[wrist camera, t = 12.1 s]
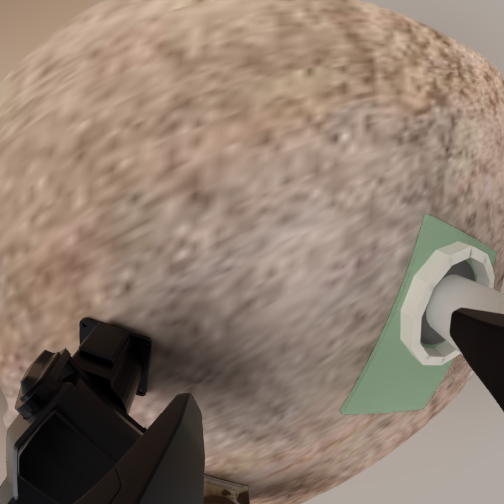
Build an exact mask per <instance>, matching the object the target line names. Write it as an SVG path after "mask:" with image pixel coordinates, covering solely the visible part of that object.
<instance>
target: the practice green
mask: <svg viewBox="0 0 504 504" xmlns="http://www.w3.org/2000/svg"><path fill="white" fill-rule="evenodd" d="M496 255H497V252H496V251H494V250H493V249H491V248H489V247H488V246H486V245H484V244H483V243H481V242H479V241H477V240H476V239H474V238H472V237H470V236H469V235H467V234H465V233H463V232H461V231H460V230H458V229H456V228H454V227H452V226H450V225H448V224H446V223H445V222H443V221H441V220H439V219H437V218H435V217H433V216H431V215H428V214H425V215H424V218H423V222H422V226H421V229H420V232H419V236H418V239H417V242H416V246H415V249H414V252H413V255H412V258H411V261H410V264H409V267H408V269H407V272H406V275H405V278H404V280H403V283H402V286H401V288H400V291H399V293H398V296H397V298H396V301H395V303H394V306H393V308H392V311H391V313H390V315H389V318H388V320H387V322H386V324H385V327H384V329H383V331H382V333H381V335H380V337H379V340H378V342H377V344H376V346H375V348H374V350H373V352H372V354H371V356H370V358H369V360H368V362H367V364H366V366H365V368H364V369H363V371H362V373H361V375H360V377H359V379H358V381H357V382H356V384H355V386H354V388H353V389H352V391H351V393H350V395H349V396H348V398H347V400H346V401H345V403H344V405H343V406H342V408H341V410H340V412H341V414H375V413H390V412H402V411H411V410H420V409H424V407H425V406H426V404H427V403H428V401H429V400H430V398H431V397H432V395H433V394H434V392H435V391H436V389H437V387H438V386H439V384H440V383H441V381H442V379H443V378H444V376H445V374H446V372H447V371H448V369H449V367H450V365H451V364H452V362H453V360H454V358H455V357H456V356H458V355H459V354H461V353H460V352H459V351H457V350H456V349H455V348H454V347H453V346H452V345H451V344H450V343H449V342H447V341H446V340H445V339H444V338H443V337H442V336H441V335H440V334H438V333H437V332H436V331H435V330H434V329H433V328H432V327H430V325H429V323H428V321H427V317H426V309H427V305H428V302H429V299H430V297H431V294H432V292H433V290H434V288H435V287H436V286H437V285H438V283H439V282H440V281H441V280H442V279H444V278H445V277H447V276H448V275H456V274H457V275H459V276H462V277H464V278H467V279H469V280H472V281H474V282H477V283H479V284H482V285H484V286H487V287H489V288H492V289H494V278H495V275H494V272H493V269H492V268H493V265H494V262H495V258H496Z"/></svg>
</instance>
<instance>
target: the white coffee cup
mask: <svg viewBox="0 0 504 504" xmlns="http://www.w3.org/2000/svg"><path fill="white" fill-rule="evenodd" d="M461 307H463V308H469V309H475V310H482V311H488V312H494V313H501V314H504V293H501V292H499V291H496V290H494V289H492V288H489V287H487V286H484V285H482V284H479V283H477V282H474V281H472V280H469V279H467V278H464V277H462V276H459V275H457V274H456V275H448V276H447V277H445V278H444V279H442V280H441V281H440V282H439V283H438V285H437V286H436V287H435V288H434V290H433V292H432V294H431V297H430V299H429V302H428V305H427V309H426V317H427V321H428V323H429V325H430V327H432V328H433V329H434V330H435V331H436V332H437V333H438V334H440V335H441V336H442V337H443V338H444V339H445V340H446V341H447V342H449V343H450V344H451V345H452V346H453V347H454V348H455V349H456V350H457V351H459V352H460V350H459V349H458V347H457V346H456V344H455V343H454V341H453V340H452V338H451V336H450V333H449V330H450V322H451V314H452V312H453V311H455V310H457V309H459V308H461ZM460 353H461V352H460ZM461 354H462V353H461Z"/></svg>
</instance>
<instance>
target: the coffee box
mask: <svg viewBox="0 0 504 504" xmlns="http://www.w3.org/2000/svg"><path fill="white" fill-rule="evenodd" d="M203 504H250V502H249V493H248V487H247V486H244V485H240V484H235V483H232V482H228V481H224V480H220V479H217V478H213V477H210V476H207V475H204V495H203Z"/></svg>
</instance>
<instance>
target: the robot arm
mask: <svg viewBox="0 0 504 504" xmlns="http://www.w3.org/2000/svg"><path fill="white" fill-rule="evenodd" d="M84 322H85V323H86V324H87V325H85V324H84ZM449 333H450V336H451V338H452V340H453V341H454V343H455V344H456V346H457V347H458V349H459V350H460V352H461V353H462V355H463V356H464V358H465V359H466V361H467V362H468V364H469V365H470V367H471V368H472V370H473V371H474V372H475V373H476V375H477V376H478V377H479V378H480V380H481V381H482V382H483V384H484V385H485V386H486V388H487V389H488V390H489V392H490V393H491V394H492V396H493V397H494V399H495V400H496V401H497V403H498V404H499V406H500V407H501V408H502V410H503V411H504V314H501V313H494V312H488V311H482V310H475V309H469V308H463V307H461V308H459V309H457V310H455V311H453V312H452V314H451V322H450V330H449ZM144 342H146V343H148V345H146V344H144ZM151 349H152V341H151V339H150V338H148V337H145V336H141V335H138V334H135V333H131V332H128V331H127V330H124V329H121V328H118V327H115V326H112V325H108V324H105V323H102V322H97V321H94V320H91V319H88V318H83V319H82V320H81V321H80V346H79V349H78V350H77V351H76V353H75V354H74V355H73V356H72V357H71V356H70V355H71V354H70V353H69V352H68V350H67V349H66V348H65V349H64V350H62V351H61V352H57V353H52V352H49V351H47V350H45V351H43V352H42V353H41V354H40V355H39V356H38V357H37V358H36V360H35V361H34V362H33V363H32V364H31V365H30V367H29V368H28V370H27V371H26V373H25V375H24V377H23V378H22V380H21V388H20V391H19V394H18V398H17V401H16V404H15V409H16V410H17V411H18V412H19V413H20V414H19V415H18V416H17V417H16V419H15V420H14V421H13V423H12V424H11V425H10V427H9V428H8V430H7V438H6V441H7V442H6V463H7V464H6V465H7V477H6V479H5V480H4V481H3V483H2V485H1V486H0V504H203V495H204V467H205V451H204V439H203V426H202V415H201V411H200V409H199V407H198V405H197V403H196V401H195V399H194V397H193V395H192V394H191V393H183V394H178V395H177V396H176V397H175V398H174V399H173V400H172V402H171V403H170V404H169V405H168V406H167V407H166V408H165V410H164V411H163V412H162V413H161V414H160V415H159V417H158V418H157V419H156V420H155V421H154V422H153V423H152V425H151V426H150V427H149V428H148V429H146V428H143V427H142V426H141V425H139V424H138V423H137V422H136V421H135V420H134V419H132V418H131V417H130V416H129V415H128V414H129V411H130V408H131V405H132V403H133V400H134V397H135V394H136V395H139V396H145V395H146V392H147V383H148V374H149V365H150V357H151ZM140 390H141V391H140ZM142 391H143V392H142Z"/></svg>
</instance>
